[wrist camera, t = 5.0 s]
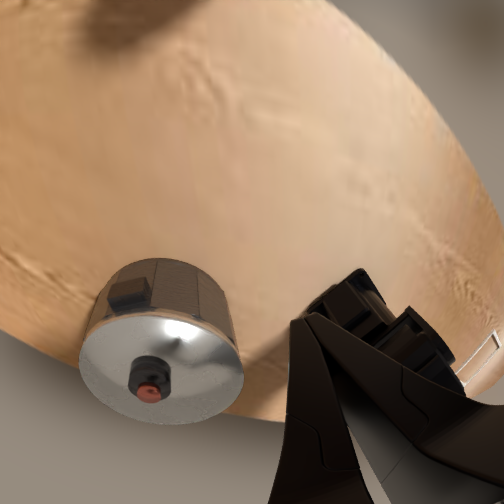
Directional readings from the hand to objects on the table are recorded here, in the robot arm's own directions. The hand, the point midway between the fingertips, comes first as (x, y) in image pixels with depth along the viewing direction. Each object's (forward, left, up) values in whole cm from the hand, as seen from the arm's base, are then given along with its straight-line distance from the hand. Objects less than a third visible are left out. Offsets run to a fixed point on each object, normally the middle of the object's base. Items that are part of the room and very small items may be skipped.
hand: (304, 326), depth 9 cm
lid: (-3, +11, -7) cm, 14 cm away
